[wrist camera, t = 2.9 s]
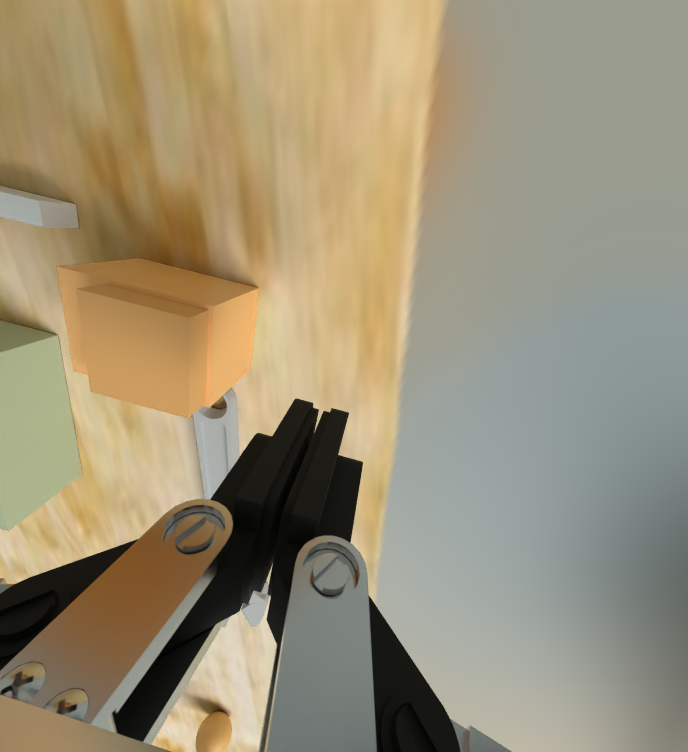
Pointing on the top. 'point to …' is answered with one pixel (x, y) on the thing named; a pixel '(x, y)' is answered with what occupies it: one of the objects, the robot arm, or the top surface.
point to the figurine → (214, 733)
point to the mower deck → (33, 390)
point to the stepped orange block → (157, 332)
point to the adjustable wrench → (223, 470)
